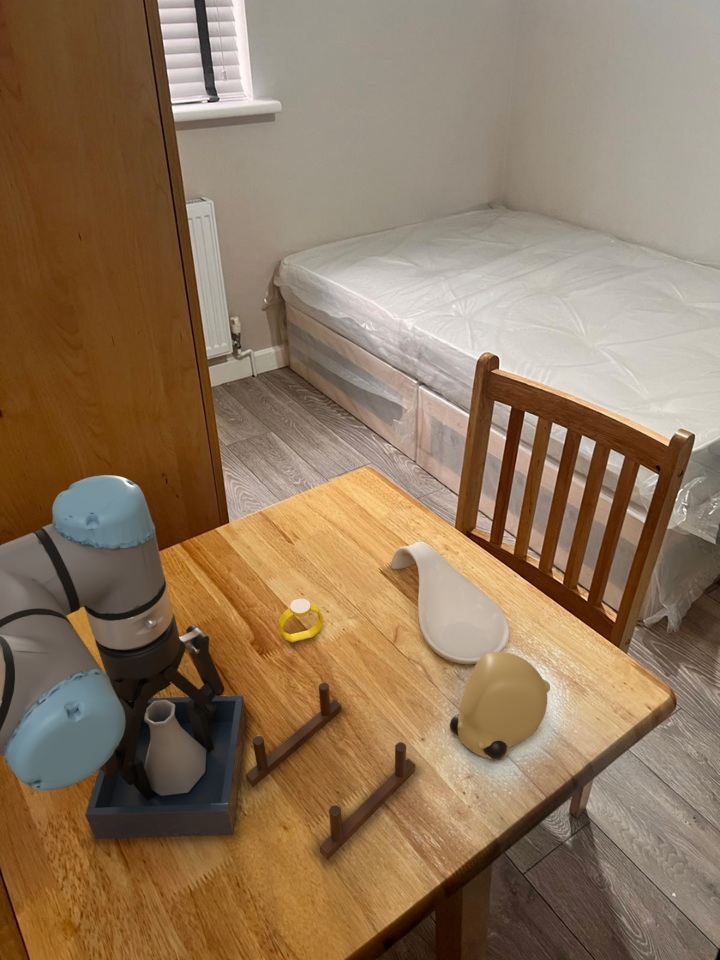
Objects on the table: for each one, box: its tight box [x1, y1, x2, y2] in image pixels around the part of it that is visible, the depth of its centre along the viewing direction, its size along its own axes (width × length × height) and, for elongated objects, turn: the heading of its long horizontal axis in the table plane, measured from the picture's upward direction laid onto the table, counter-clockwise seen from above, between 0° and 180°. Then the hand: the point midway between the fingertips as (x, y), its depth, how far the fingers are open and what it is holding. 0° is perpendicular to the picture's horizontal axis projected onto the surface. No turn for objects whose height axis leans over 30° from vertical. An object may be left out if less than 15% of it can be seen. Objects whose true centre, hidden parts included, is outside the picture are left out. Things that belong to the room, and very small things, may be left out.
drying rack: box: [245, 681, 416, 860], centre depth 81 cm, size 14×13×6 cm
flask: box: [144, 700, 206, 796], centre depth 80 cm, size 7×7×10 cm
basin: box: [85, 694, 248, 840], centre depth 82 cm, size 15×15×5 cm
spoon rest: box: [390, 541, 511, 665], centre depth 101 cm, size 24×12×7 cm, turn 25°
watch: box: [277, 598, 324, 643], centre depth 99 cm, size 6×3×6 cm, turn 111°
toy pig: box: [449, 651, 551, 761], centre depth 85 cm, size 10×12×11 cm
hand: (174, 766), depth 82 cm, fingers closed on flask, 7 cm apart
